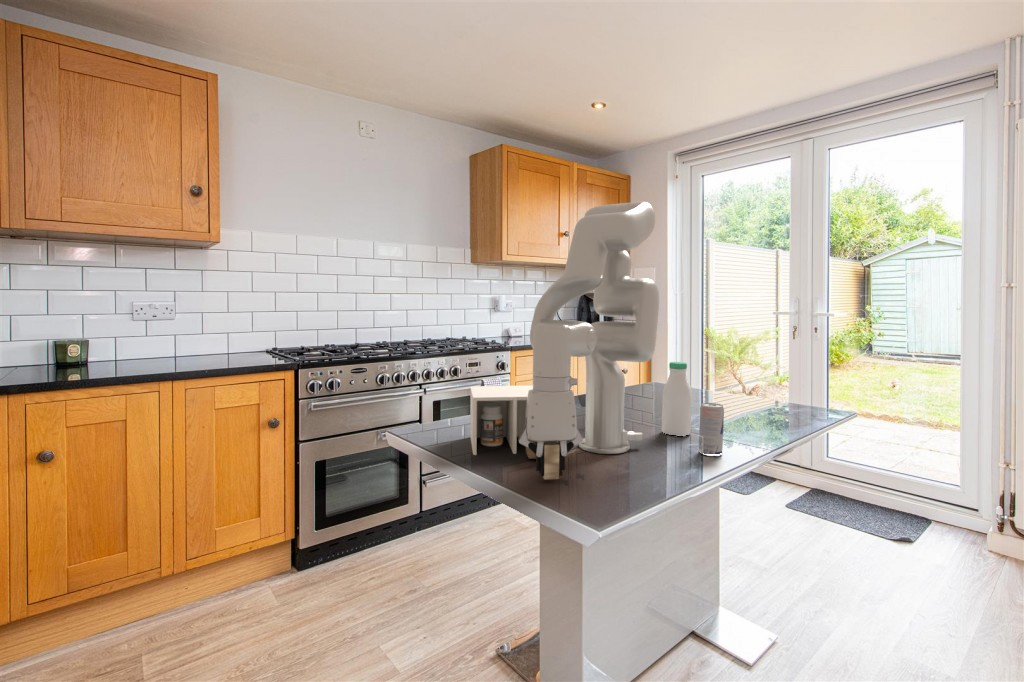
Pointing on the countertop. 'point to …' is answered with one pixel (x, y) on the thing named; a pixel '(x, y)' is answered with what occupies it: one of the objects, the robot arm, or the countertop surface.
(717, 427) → the energy drink
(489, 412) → the pill bottle
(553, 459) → the wooden block tool
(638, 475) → the countertop surface
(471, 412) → the cubby shelf
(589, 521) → the countertop surface
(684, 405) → the milk bottle
